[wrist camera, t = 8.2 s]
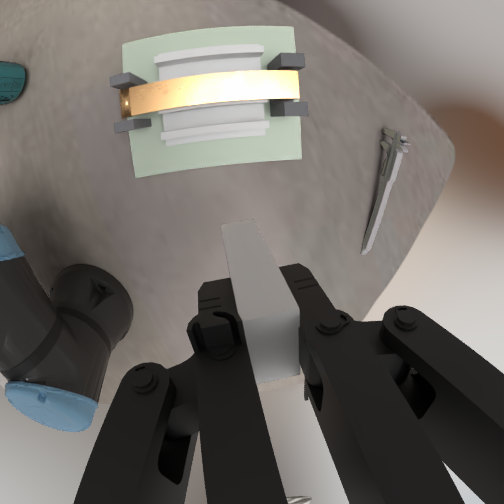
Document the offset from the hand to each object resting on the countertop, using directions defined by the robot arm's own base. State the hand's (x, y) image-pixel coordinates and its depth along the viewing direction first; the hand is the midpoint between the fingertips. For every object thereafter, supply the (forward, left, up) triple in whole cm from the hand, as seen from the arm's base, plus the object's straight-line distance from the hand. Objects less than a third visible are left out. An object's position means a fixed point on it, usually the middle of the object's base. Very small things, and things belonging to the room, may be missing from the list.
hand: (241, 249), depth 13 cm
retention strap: (-1, +9, -20) cm, 22 cm away
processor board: (-1, +9, -24) cm, 26 cm away
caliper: (+22, -6, -25) cm, 34 cm away
